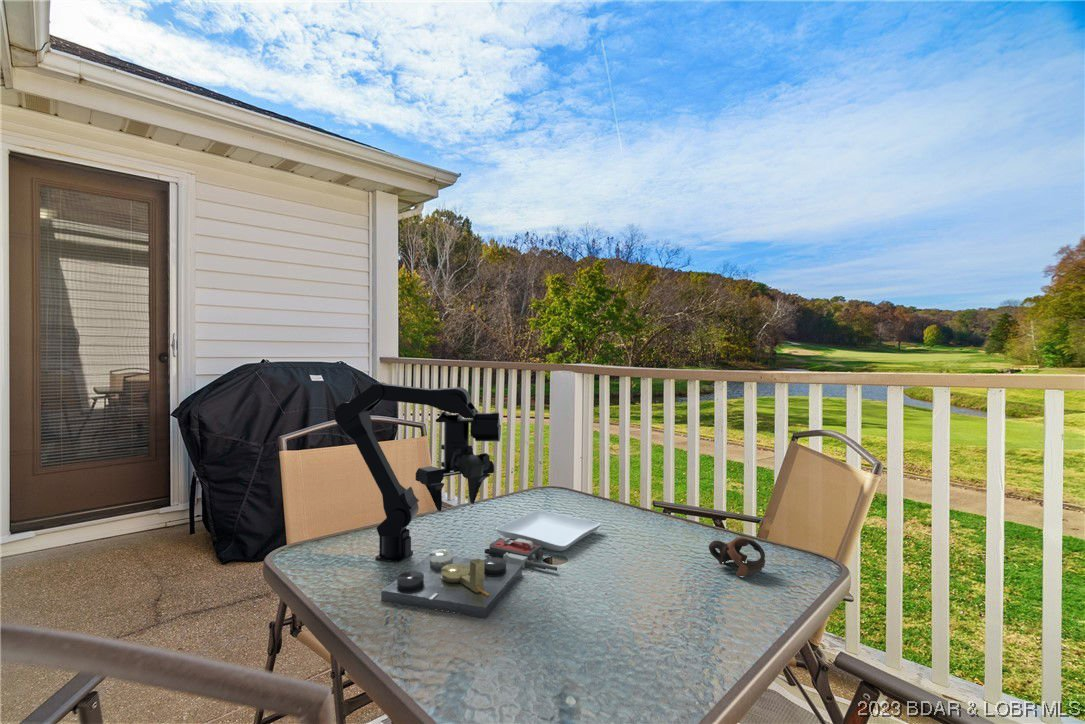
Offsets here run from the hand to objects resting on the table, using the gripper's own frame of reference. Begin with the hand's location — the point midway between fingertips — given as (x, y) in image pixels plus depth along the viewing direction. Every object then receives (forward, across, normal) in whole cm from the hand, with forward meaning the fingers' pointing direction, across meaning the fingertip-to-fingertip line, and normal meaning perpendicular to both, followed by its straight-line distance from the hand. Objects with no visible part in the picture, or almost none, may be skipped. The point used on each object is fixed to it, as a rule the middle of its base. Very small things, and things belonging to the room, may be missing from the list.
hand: (456, 507), depth 122 cm
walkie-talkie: (+13, +11, -12) cm, 21 cm away
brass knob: (+10, -9, -16) cm, 21 cm away
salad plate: (+13, +27, -4) cm, 30 cm away
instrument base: (+12, -9, -13) cm, 20 cm away
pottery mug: (+12, +44, -48) cm, 66 cm away
